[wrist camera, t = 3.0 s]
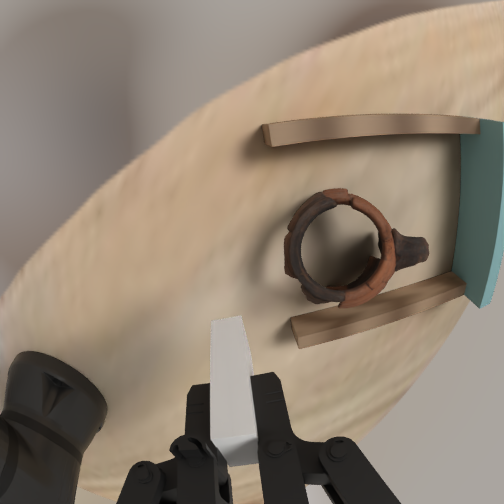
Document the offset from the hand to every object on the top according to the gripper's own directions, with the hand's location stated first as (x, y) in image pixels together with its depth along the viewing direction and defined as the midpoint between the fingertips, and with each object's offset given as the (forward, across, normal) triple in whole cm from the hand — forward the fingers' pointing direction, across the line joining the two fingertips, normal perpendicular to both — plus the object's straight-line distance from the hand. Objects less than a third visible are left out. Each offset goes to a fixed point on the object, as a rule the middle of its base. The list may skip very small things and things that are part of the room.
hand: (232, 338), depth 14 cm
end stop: (+11, -25, 0) cm, 28 cm away
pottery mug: (+11, -10, +1) cm, 15 cm away
